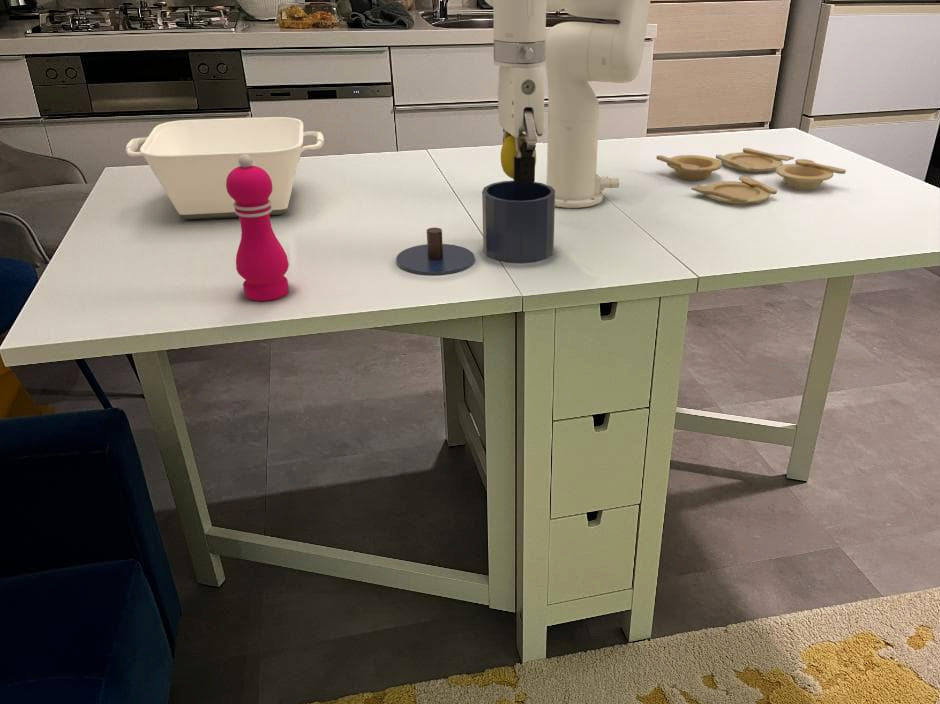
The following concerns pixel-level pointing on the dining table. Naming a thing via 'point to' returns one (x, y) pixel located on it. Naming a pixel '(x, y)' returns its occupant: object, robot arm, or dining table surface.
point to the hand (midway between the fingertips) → (518, 176)
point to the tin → (518, 221)
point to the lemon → (510, 155)
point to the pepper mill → (257, 234)
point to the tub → (222, 160)
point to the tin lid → (435, 256)
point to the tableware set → (749, 189)
